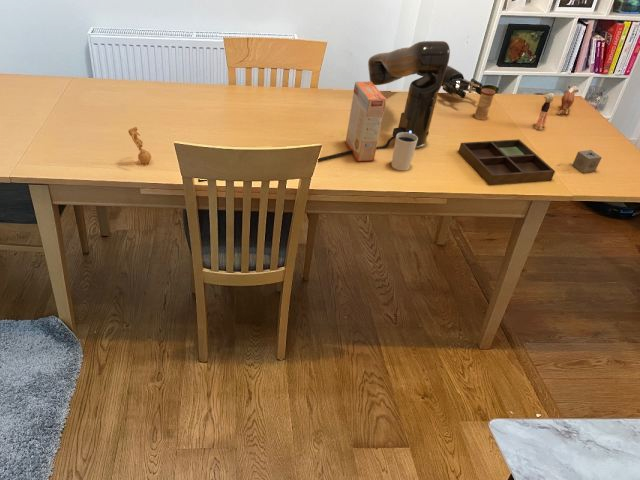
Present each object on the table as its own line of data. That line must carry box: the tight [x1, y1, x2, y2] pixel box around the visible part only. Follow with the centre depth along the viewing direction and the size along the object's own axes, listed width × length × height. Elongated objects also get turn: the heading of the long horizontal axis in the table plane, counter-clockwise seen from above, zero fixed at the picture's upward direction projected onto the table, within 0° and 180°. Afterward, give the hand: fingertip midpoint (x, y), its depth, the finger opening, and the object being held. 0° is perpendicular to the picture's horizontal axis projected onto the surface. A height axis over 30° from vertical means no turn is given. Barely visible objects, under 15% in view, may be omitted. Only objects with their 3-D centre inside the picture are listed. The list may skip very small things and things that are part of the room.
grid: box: [458, 138, 556, 186], centre depth 188 cm, size 21×21×3 cm
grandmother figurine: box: [534, 92, 556, 131], centre depth 209 cm, size 8×4×13 cm, turn 168°
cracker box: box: [345, 80, 387, 162], centre depth 186 cm, size 14×6×21 cm, turn 9°
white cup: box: [391, 132, 418, 171], centre depth 183 cm, size 7×7×10 cm
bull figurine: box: [557, 85, 579, 115], centre depth 222 cm, size 4×13×8 cm, turn 148°
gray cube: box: [572, 149, 602, 174], centre depth 189 cm, size 5×5×5 cm
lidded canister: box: [473, 87, 496, 121], centre depth 214 cm, size 5×5×10 cm
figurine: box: [128, 126, 152, 164], centre depth 178 cm, size 8×6×12 cm
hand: (474, 94), depth 218 cm, fingers open, 8 cm apart
